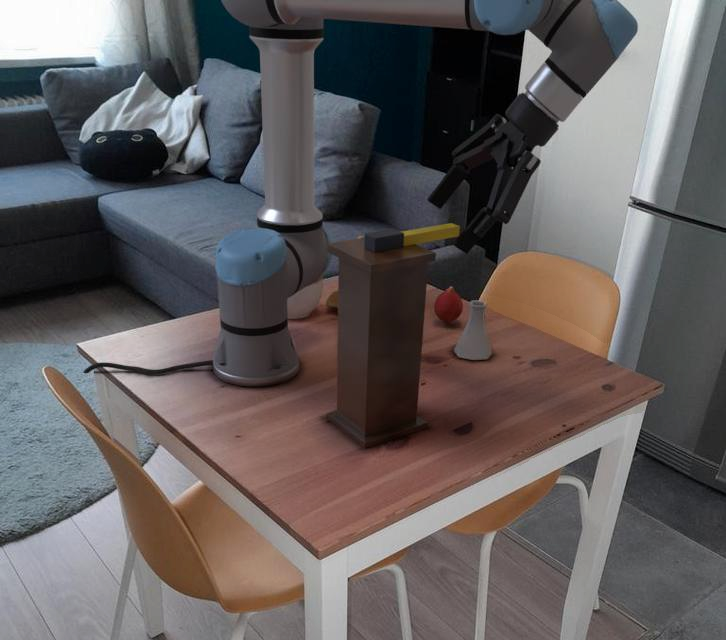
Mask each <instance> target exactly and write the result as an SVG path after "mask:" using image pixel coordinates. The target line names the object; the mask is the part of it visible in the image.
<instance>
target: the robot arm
mask: <svg viewBox="0 0 726 640" xmlns="http://www.w3.org/2000/svg"><path fill="white" fill-rule="evenodd" d="M220 1H221V3H222V5H223V7H224V8H225V9H226V11H227V13H228V14H229V15H230V16H232V17H233V18H234V19H235V20H237V21H238V22H239V23H241V24H243V25H245V26H248V27H249V28H248V30H249V31H248V32H249V39H250V40H251V41H252V42H253V43H254V44H255V45H256V47H257V48H258V50H259V63H260V64H259V67H260V92H261V93H260V94H261V95H260V96H261V97H260V98H261V123H262V152H263V153H262V155H263V180H264V181H263V182H264V205H263V206H262V207H260V209H259V210H258V211H257V213H256V227H251V228H250V227H249V228H245V229H244V230H236V231H233V232H230V233H228V234H226V235H225V236H224V237H222V238H221V239H220V240H219V241H218V243H217V244H216V248H215V263H214V270H215V274H216V283H217V284H216V285H217V298H218V310H219V322H220V330H219V334H218V338H217V342H216V346H215V350H214V353H213V357H212V359H211V360H203V361H195V362H189V363H184V364H177V365H172V366H169V367H164V368H159V369H158V368H157V369H151V368H144V367H140V366H134V365H126V364H125V365H124V364H120V363H113V362H104V361H102V362H96V363H93V364H91V365H89V366H88V367H86V368H85V369H84V371H82V373H83V374H89V373H91V372H92V371H94V370H96V369H99V368H109V369H110V368H112V369H117V370H122V371H129V372H138V373H141V374H146V375H162V374H167V373H172V372H176V371H181V370H186V369H191V368H200V367H206V366H212V369H213V373H214V375H215V376H216V377H217V378H219V380H221V381H224V382H225V383H228V384H231V385H236V386H240V387H251V388H252V387H253V388H254V387H255V388H257V387H268V386H274V385H278V384H280V383H284V382H287V381H288V380H290V379H292V378H293V377H295V376H296V375H297V374H298V373H299V369H300V358H299V353H298V351H297V348H296V342H295V340H294V337H293V336H292V335H291V332H290V329H289V321H288V311H287V299H288V298H289V297H291V296H292V295H294V294H296V293H297V292H299V291H300V290H302V289H303V288H305V287H307V286H309V285H311V284H313V283H314V282H315V281H316V280H318V279H319V278H320V277H321V275H322V274H323V273H324V274H325V272H326V271H327V269H328V268H329V266H330V263H331V261H332V256H333V255H332V254H330V253H328V252H327V244H328V243H333V242H332V239H331V236H330V232H329V231H327V230H326V226H325V225H324V224H323V223H324V222H323V221H324V220H323V219H324V218H323V217H324V215H323V213H322V211H320V210H319V208H318V207H317V206H316V205H315V67H314V66H315V50H316V49H317V48H318V46H319V45H320V44H321V43H322V42H323V41H324V20H338V21H350V22H351V21H353V22H365V23H366V22H367V23H380V24H391V25H392V24H393V25H405V26H406V25H407V26H419V27H421V26H422V27H431V28H432V27H433V28H435V27H436V28H449V29H462V30H473V31H481V32H482V31H483V32H491V33H493V34H495V35H500V36H515V35H517V34H520V33H522V32H524V31H529V32H530V33H531V34H532V35H533V36H535V37H536V38H537V40H539V41H540V42H541V43H542V44H543V45H544V46H545V47H546V48H548V49H549V50H550V51H551V52H550V54H549V55H548V57H547V58H546V59H545V60H544V62H543V63H542V64H541V65H540V66H539V68H538V69H537V70H536V72H535V73H534V74H533V75H532V77H531V78H530V79H529V80H528V82H526V84H525V86H524V87H525V92H521V93H518V95H517V96H516V97H515V99H514V100H513V101H512V103H510V105H509V106H508V108H507V109H506V110H505V117H506V118H507V119H506V118H505V117H503V116H502V115H501V114H499V113H496V114H495V115H493V117H492V118H491V119H490V120H489V122H488V123H486V124H485V125H484V126H483V127H482V128H480V129H478V130H477V131H476V132H475V133H474V134H473V135H471V136H470V137H468V138H467V139H466V140H465V141H463V142H462V143H461V144H459V145H458V146H457V147H455V148H454V149H453V150H452V152H451V155H452V157H453V161H452V166H451V167H450V168H449V170H448V171H447V173H446V174H445V175H444V176H443V177H442V179H441V181H440V182H439V183H438V184H437V186H436V187H435V188H434V190H433V191H432V192H431V193H430V195H429V196H428V197H427V199H426V200H427V202H429V203H430V204H431V205H433V206H434V207H436V208H437V209H438V210H441V209H443V207H444V206H445V204H447V202H448V200H450V198H451V197H452V195H453V194H454V193H455V192H456V191H457V189H458V188H459V187H460V186H461V185H462V183H463V182H464V180H465V179H466V178H467V175H469V174H470V171H471V170H472V169H475V168H476V167H479V166H481V165H483V164H486V163H487V162H490V161H491V160H495V163H496V164H497V165H496V169H497V174H496V175H495V176H496V177H495V180H494V183H493V186H492V189H491V192H490V196H489V199H488V202H487V205H486V207H482V208H481V209H480V210H479V211H478V213H477V214H476V215H475V216H474V218H473V219H472V220H471V221H470V223H469V224H467V226H466V227H464V230H462V232H461V233H459V236H458V237H456V239H455V240H454V242H453V243H452V244H453V247H455V248H456V249H458V250H460V251H461V252H463V253H465V254H466V255H468V253H469V252H471V250H472V249H473V248H474V246H475V245H476V244H477V243H478V242H479V241H480V239H482V238H483V237H485V235H486V234H487V233H488V232H489V230H490V229H491V228H492V227H493V226H494V225H495V224H496V223H497V222H501V223H503V224H504V225H508V224H509V223H510V221H511V219H512V217H513V216H514V213H515V211H516V208H517V206H518V204H519V203H520V200H521V198H522V196H523V194H524V192H525V191H526V188H527V186H528V184H529V182H530V180H531V177H532V176H533V174H534V173H535V172H536V170H537V169H538V167H539V166H540V165H541V163H542V161H541V159H540V158H539V157H537V156H536V155H535V154H534V153H533V151H534V149H535V147H537V146H538V147H545V146H546V145H547V144H548V142H549V141H550V140H551V139H552V138H553V136H554V135H555V134H556V133H557V132H558V130H559V126H560V125H559V124H558V123H559V122H565V121H566V120H567V119H568V118H569V116H570V115H571V114H572V113H573V112H574V111H575V109H576V108H577V107H578V105H579V104H580V103H581V102H582V101H583V99H585V98H586V97H587V95H588V94H589V93H590V92H591V90H592V89H593V88H594V87H595V86H596V85H597V84H598V83H599V81H600V80H601V79H603V77H604V76H605V74H606V73H607V72H608V71H609V70H610V69H611V67H612V66H613V65H614V64H615V63H616V61H617V60H618V59H619V58H620V56H621V55H622V53H623V52H624V51H625V50H626V48H627V47H628V46H629V45H630V43H631V42H632V40H633V39H634V38H635V36H636V35H637V33H638V32H639V31H638V30H639V29H638V28H639V24H638V21H637V19H636V17H635V16H634V15H633V14H632V12H630V11H629V9H627V7H625V6H624V5H623V4H622V3H621V2H620V0H220Z"/></svg>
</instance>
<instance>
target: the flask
mask: <svg viewBox="0 0 726 640" xmlns="http://www.w3.org/2000/svg"><path fill="white" fill-rule="evenodd" d="M469 306H470V311H469V316H468V319H467V322H466V324H465V326H464V329H463V331H462V333H461V336H460V337H459V340H458V341H457V343H456V345H455V347H454V350H453V352H454V353H455V355H456V356H457V357H458V358H462V359H465V360H470V361H479V360H481V361H482V360H488V359H489V358H490V357H491V356H492V354H493V351H492V347H491V343H490V340H489V336H488V331H487V326H486V317H485V316H486V315H485V311H486V308H487V307H488V303H487V302H486V301H485V300H480V299H479V300H477V299H476V300H475V299H474V300H471V301H470V302H469Z"/></svg>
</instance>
